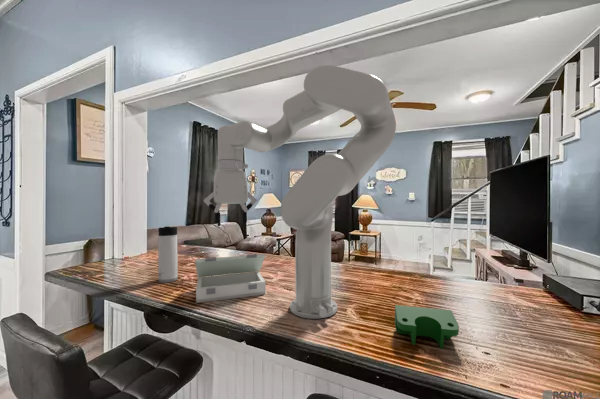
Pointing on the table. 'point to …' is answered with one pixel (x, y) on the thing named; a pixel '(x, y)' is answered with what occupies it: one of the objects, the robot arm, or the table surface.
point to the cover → (229, 265)
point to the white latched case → (229, 286)
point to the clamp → (426, 323)
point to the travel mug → (167, 254)
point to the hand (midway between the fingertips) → (231, 224)
